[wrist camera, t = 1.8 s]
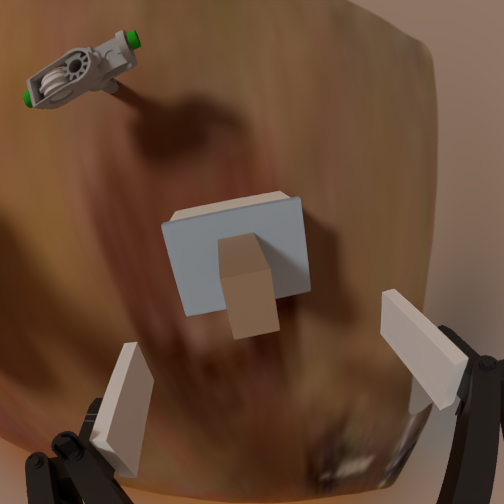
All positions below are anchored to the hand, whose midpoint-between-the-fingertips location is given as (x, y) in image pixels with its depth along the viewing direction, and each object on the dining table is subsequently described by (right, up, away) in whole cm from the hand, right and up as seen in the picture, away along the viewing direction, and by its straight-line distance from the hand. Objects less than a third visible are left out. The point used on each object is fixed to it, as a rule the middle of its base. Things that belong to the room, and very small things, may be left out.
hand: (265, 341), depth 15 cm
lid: (-2, +4, +12) cm, 13 cm away
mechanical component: (-15, +22, +11) cm, 28 cm away
